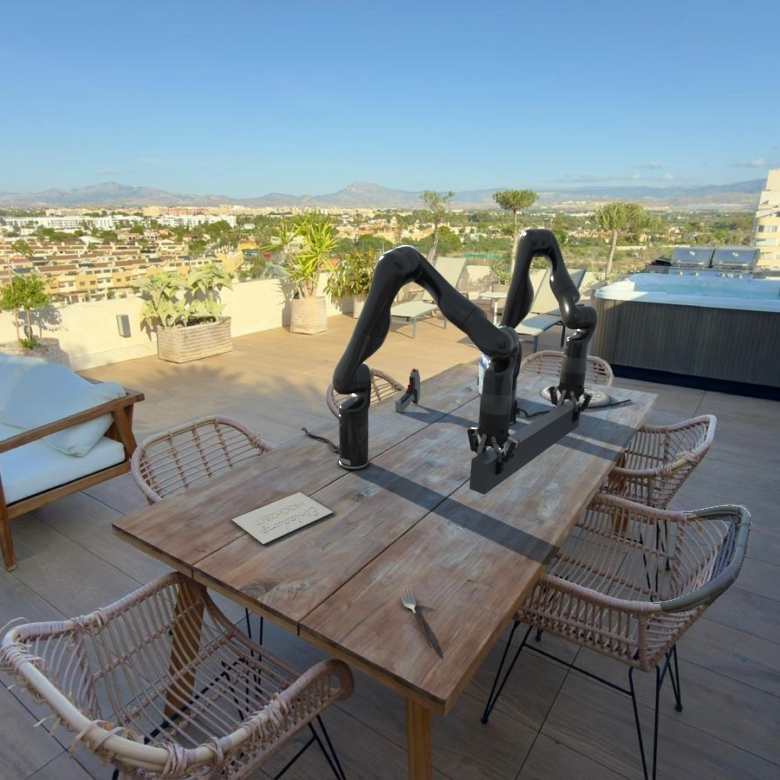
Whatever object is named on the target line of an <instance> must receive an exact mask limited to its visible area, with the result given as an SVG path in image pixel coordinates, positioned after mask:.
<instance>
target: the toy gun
mask: <svg viewBox="0 0 780 780" xmlns="http://www.w3.org/2000/svg"><path fill="white" fill-rule="evenodd" d="M409 375H410V376H409V379H408V380H409V381H408V384H407V389H406V391H405V393H404V394H403V395H402V396H401V397H400V398H399V399H397V400H395V405H394V406H395V412H397V413H403V412H404V411H405V410H406V409H407V408H408V407H409V406H410V405H411V403H412V405H416V406H418V405H419V402H420V397H421V395H420V394H421V376H420V372H419V369H418V368H415V367H413V368H412V369H411V371H410V373H409Z"/></svg>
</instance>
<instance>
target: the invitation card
mask: <svg viewBox="0 0 780 780" xmlns="http://www.w3.org/2000/svg"><path fill="white" fill-rule="evenodd" d="M333 513H334V511H332V510H331V509H329V508H328V507H326V506H324V505H323V504H320V503H319V502H318V501H316V500H314V499H312V498H311V497H309V496H308V495H306V494H304V493H302V492H301V491H299V492H295V493H293V494H291V495H287V496H286V497H284V498H281V499H279V500H276V501H274V502H271V503H269V504H266V505H264V506H261V507H259V508H256V509H254V510H252V511H249V512H246V513H243V514H242V515H239V516H237V517H236V516H235V517H234V518H232V519H231V521H232V522H233V523H235V524H236V525H237V526H239V527H240V528H241V529H242V530H243V531H245V532H246V533H248V534H249V535H250V536H251V537H253V538H254V539H255V540H257V541H258V542H259V543H261V544H262V545H265V544H268V543H271V542H273V541H274V540H276V539H278V538H279V539H280V538H281V537H283V536H285V535H287V534H290V533H292V532H294V531H296V530H298V529H300V528H303V527H306V526H307V525H309V524H311V523H313V522H316V521H318V520H320V519H323V518H325V517H327V516H329V515H332V514H333Z"/></svg>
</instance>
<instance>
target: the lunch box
mask: <svg viewBox="0 0 780 780" xmlns="http://www.w3.org/2000/svg"><path fill="white" fill-rule="evenodd" d="M488 363H489V357H488V356H486V355H485V354H484V353H482V352H481V354H480V358H479V360H478V377H477V381H476V384H477V385H476V386H478V393H479V395H481V394H482V386H483V374H484V371H485V369H486V367H487V365H488Z"/></svg>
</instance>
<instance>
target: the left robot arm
mask: <svg viewBox="0 0 780 780" xmlns="http://www.w3.org/2000/svg"><path fill="white" fill-rule="evenodd" d="M411 283H414V284H415V285H417V286H419V287H421V288H422V289H423V290H425V291H426V293H428V295H430V297H431V298H432V300H433V301H434V303H435V306H436V307H437V309H438V310H439V312H440V313H441V315H442V316H443V317H444V318H445V320H447V321H448V322H449V323H451V325H453V326H454V327H456V328H457V329H458V330H460V331H461V332H462V333H463V334H465V335H466V336H467V337H468V339H470V341H471V342H472V343H473V345H475V347H476V348H477V349H478V350H479V351H480V352H481V354H482V353H484V354H485V355H486V356H488V357H489V363H488V365H487V367H486V369H485V371H484V374H483V386H482V394H480V400H479V411H478V427H476V426H472V427H470V428H468V429H467V430H466V431H467V435H468V436H467V438H468V441H469V442H468V443H469V448H470V452H474V453H475V454H476V456H477V455H479V454H481V453H482V452H484V451H486V450H487V449H488V448H491V447H492V448H494V452H495V454H496V456H497V462H496V472H495V475H498V476H499V475H500V474H501V473H503V471H504V464H505V462H506V463H507V462H509V461H510V460H512V459H513V457H514V454H515V452H516V450H517V448H518V445H519V443H520V441H519V440H518V439H516V440H514V439H513V438H511V437H510V435H511V434H510V431H509V430H510V425H509V424H510V414H511V408H512V406H511V403H512V396H511V392H512V381H513V371H514V367H515V363H516V359H517V355H518V350H519V341H520V337H519V334H518V331H516V330H515V329H513V328H512V327H510V326H500V327H498V326H496V325H495V324H494V323H493V322H491V321H490V320H489V318H488V314H487V312H486V311H485V310H484V309H482V308H481V307H480V306H478V305H477V304H476V303H475V302H473V301H472V300H470V299H469V298H468V297H467V296H465V295H464V294H463V293H462V292H460V290H458V289H457V288H455V287H454V286H453V285H452V284H451V283H450V282H449V281H448V280H447V279H446V278H445V277H444V276H443V275H442V273H440V272H439V271H438V270H437V268H435V267H434V266H433V265H432V264H431V263H430V261H429V260H428V259H427V258H426V257H425V256H424V255H423V254H422V253H421V252H420V251H419V250H417V248H415V247H413V246H411V245H407V244H405V245H400V246H398V247H395V248H392V249H390V250H388V251H385V252H384V253H383V254H381V256H379V258H378V260H377V262H376V264H375V268H374V271H373V275H372V280H371V283H370V286H369V290H368V294H367V295H366V298H365V301H364V303H363V305H362V307H361V311H360V313H359V316H358V318H357V320H356V323H355V325H354V328H353V331H352V333H351V335H350V338H349V341H348V343H347V345H346V346H345V349H344V351H343V353H342V355H341V357H340V358H339V360H338V361H337V364H336V365H335V367H334V370H333V373H332V387H333V390H334V391H335V392H336V393H337V394H339V395H342V396H348V395H349V397H348V398H347V399H345V400H343V401H342V402H341V403H340V404H339V406H338V441H339V442H338V444H337V445H336V446H337V447H336V448H335V446H334V444H333V442H332V441H331V440H330V439H328V438H326V437H323V436H319V435H315V434H312V433H309V431H308V429H307V428H306V427H305V426H302V428H301V429H300V430H301V431H304V433H305V435H306V436H308V437H310V438H313V439H316V440H321V441H324V442H326V443H328V444H329V446H330V448H331V450H332V451H333V453H338V454H339V457H338V458H339V460H338V464H339V466H340V467H341V468H342V469H345V470H349V471H358V470H362V469H365V468H367V467H369V464H370V463H369V413H370V411H369V410H370V406H371V400H372V384H373V383H372V381H373V380H372V372H371V369H370V367H369V365H368V364H367V363H366V361H367V360H368V359H369V358H371V357H372V356H373V355H374V354H376V352H377V351H379V349H380V348H381V347H382V346H383V345H384V343H385V341H386V339H387V337H388V335H389V333H390V330H391V327H392V324H393V320H392V319H393V318H392V306H393V304H394V301H395V299H396V298H397V296H398V294H399V292H400V291H401V290H402V289H403V288H404V287H405V286H407V285H409V284H411ZM307 433H308V434H307ZM478 436H479V437H478ZM479 438H480V441H479ZM506 441H507V442H508V447H509V448H508V451H507V453H506V454H505V450H506V448H505V442H506ZM499 447H500V448H499Z"/></svg>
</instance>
